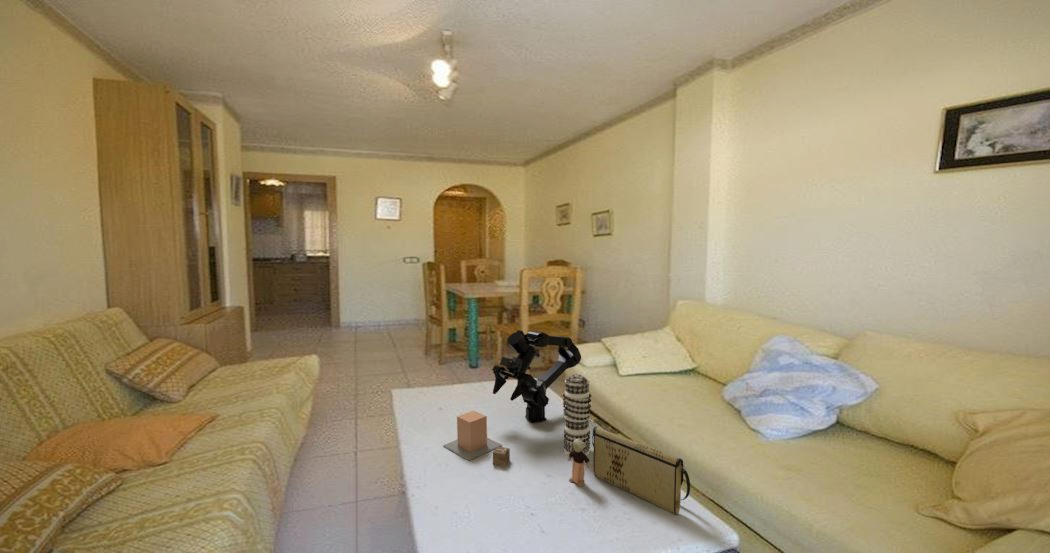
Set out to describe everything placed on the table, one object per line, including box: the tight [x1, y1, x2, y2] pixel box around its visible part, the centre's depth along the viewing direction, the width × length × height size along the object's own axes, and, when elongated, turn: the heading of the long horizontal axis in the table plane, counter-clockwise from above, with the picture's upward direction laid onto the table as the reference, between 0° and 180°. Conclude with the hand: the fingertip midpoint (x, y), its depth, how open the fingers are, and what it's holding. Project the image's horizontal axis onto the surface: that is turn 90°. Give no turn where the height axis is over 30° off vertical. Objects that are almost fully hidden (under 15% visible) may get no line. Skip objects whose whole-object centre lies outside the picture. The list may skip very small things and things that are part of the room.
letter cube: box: [492, 446, 511, 467], centre depth 138 cm, size 4×4×4 cm
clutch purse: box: [591, 426, 691, 516], centre depth 121 cm, size 30×7×15 cm, turn 43°
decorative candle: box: [562, 374, 592, 457], centre depth 143 cm, size 9×9×25 cm
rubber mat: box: [442, 437, 502, 462], centre depth 148 cm, size 14×14×1 cm
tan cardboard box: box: [456, 410, 488, 452], centre depth 148 cm, size 7×7×10 cm
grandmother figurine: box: [567, 439, 592, 486], centre depth 125 cm, size 8×4×13 cm, turn 62°
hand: (502, 396), depth 156 cm, fingers open, 9 cm apart
